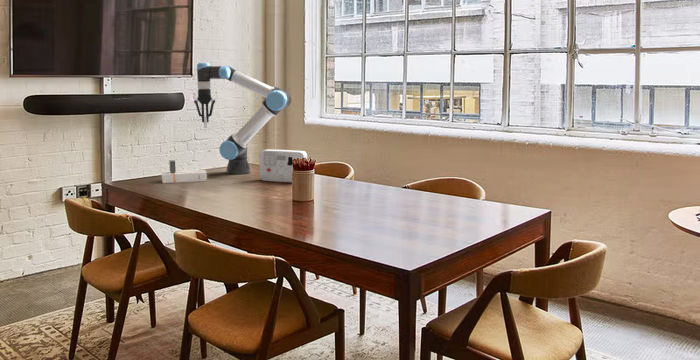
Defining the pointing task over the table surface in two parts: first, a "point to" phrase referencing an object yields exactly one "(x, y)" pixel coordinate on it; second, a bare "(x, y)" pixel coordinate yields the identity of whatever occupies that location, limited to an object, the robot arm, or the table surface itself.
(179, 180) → the console
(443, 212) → the table surface
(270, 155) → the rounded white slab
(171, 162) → the fader
